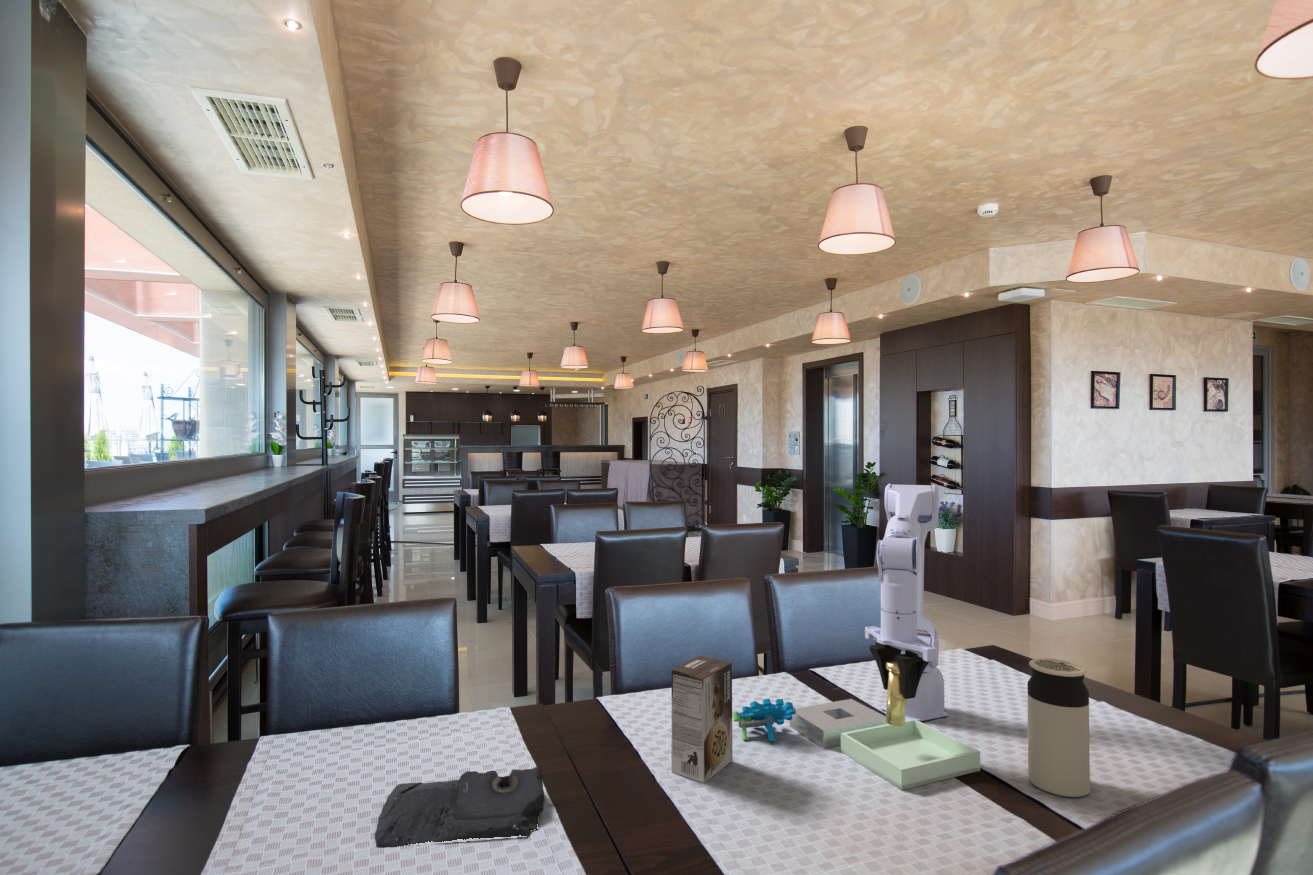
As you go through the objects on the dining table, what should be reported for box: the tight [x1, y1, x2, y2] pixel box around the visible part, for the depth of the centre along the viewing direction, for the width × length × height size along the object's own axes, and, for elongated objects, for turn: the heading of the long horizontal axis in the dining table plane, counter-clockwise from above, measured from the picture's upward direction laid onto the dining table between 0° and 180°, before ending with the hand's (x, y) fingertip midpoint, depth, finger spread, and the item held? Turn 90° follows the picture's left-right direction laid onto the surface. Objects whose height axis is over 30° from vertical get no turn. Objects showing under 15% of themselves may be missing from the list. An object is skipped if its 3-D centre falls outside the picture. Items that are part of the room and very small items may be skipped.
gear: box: [732, 698, 796, 743], centre depth 117 cm, size 11×6×10 cm
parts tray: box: [840, 719, 981, 791], centre depth 109 cm, size 16×14×3 cm
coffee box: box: [670, 655, 734, 784], centre depth 106 cm, size 9×6×16 cm
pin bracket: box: [789, 698, 888, 749], centre depth 120 cm, size 14×10×3 cm
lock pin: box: [885, 659, 906, 727], centre depth 110 cm, size 4×4×10 cm
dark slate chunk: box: [374, 766, 546, 848], centre depth 93 cm, size 15×22×5 cm
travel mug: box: [1027, 657, 1091, 798], centre depth 101 cm, size 8×8×18 cm
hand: (899, 692), depth 110 cm, fingers closed on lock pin, 4 cm apart
